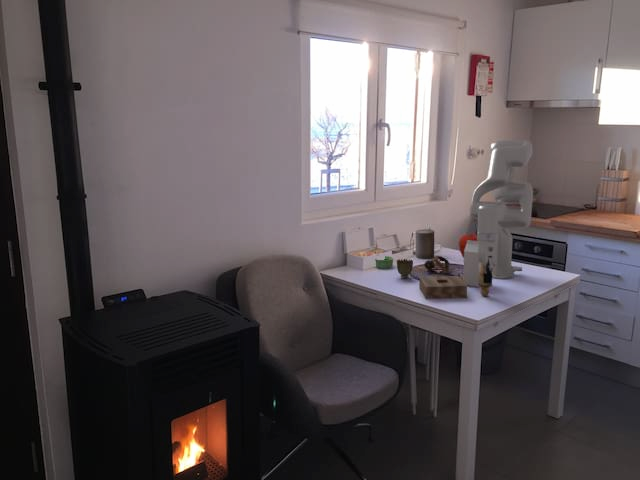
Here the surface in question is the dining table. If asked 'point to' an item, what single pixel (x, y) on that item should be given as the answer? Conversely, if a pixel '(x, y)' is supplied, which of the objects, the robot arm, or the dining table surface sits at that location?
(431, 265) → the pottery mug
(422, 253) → the pillar candle
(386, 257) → the ramekin
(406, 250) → the dining table surface
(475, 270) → the milk carton
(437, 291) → the walnut block
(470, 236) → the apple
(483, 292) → the oak peg
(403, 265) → the dark rounded textured piece
